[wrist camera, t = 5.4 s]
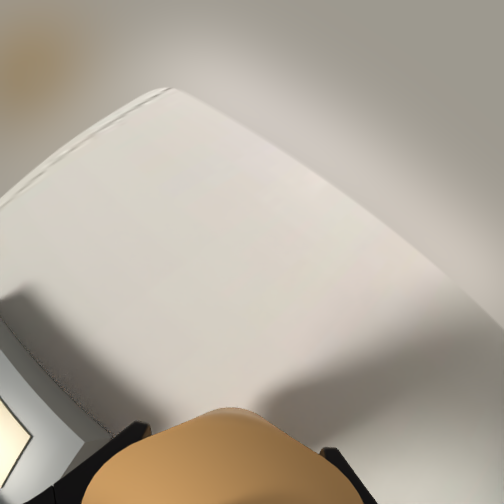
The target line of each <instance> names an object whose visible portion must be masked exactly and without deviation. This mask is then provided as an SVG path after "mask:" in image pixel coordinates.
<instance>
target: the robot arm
mask: <svg viewBox="0 0 504 504" xmlns="http://www.w3.org/2000/svg"><path fill="white" fill-rule="evenodd" d="M150 436H151V428H150V425H149V424H148V423H145V422H141V421H134V422H133V423H132V424H130V425H129V426H128V427H127V428H125V429H124V430H123V431H122V432H121V433H119V434H118V435H117V436H116V437H114V438H113V439H112V440H110V441H109V442H108V443H107V444H105V445H104V446H103V447H102V448H100V449H99V450H98V451H96V452H95V453H94V454H93V455H91V456H90V457H89V458H87V459H86V460H85V461H83V462H82V463H81V464H80V465H78V466H77V467H76V468H74V469H73V470H72V471H70V472H69V473H68V474H66V475H65V476H64V477H62V478H61V479H59V480H58V481H57V482H55V483H54V484H53V485H51V486H50V487H48V488H47V489H46V490H44V491H43V492H41V493H40V494H38V495H37V496H35V497H34V498H32V499H31V500H29V501H27V502H25V503H23V504H82V500H83V497H84V494H85V492H86V489H87V487H88V485H89V484H90V482H91V480H92V479H93V477H94V475H95V474H96V473H97V472H98V471H99V469H100V468H101V467H102V466H103V465H104V464H105V463H106V462H107V461H108V460H110V459H111V458H112V457H113V456H114V455H115V454H117V453H118V452H120V451H122V450H123V449H125V448H126V447H128V446H130V445H131V444H134V443H136V442H138V441H140V440H143V439H145V438H147V437H150ZM319 455H320V456H322V457H324V458H325V459H326V460H328V461H329V462H330V463H331V464H333V465H334V466H335V467H337V468H338V469H339V470H340V471H341V472H342V473H343V474H344V475H345V476H346V477H347V478H348V479H349V481H350V482H351V483H352V485H353V486H354V488H355V489H356V490H357V492H358V493H359V495H360V497H361V499H362V501H363V504H378V503H377V502H376V501H375V499H374V498H373V497H372V495H371V494H370V493H369V491H368V490H367V489H366V487H365V486H364V484H363V483H362V482H361V480H360V479H359V478H358V476H357V475H356V474H355V472H354V471H353V469H352V468H351V467H350V465H349V464H348V463H347V461H346V460H345V458H344V457H343V456H342V454H341V453H340V451H339V450H338V449H337V448H334V447H324V448H322V449H321V451H320V453H319Z"/></svg>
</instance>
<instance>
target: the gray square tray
mask: <svg viewBox="0 0 504 504" xmlns="http://www.w3.org/2000/svg"><path fill="white" fill-rule="evenodd" d="M112 437H113V436H112V435H111V434H110V433H108V432H107V431H106V430H105V429H104V428H103V427H101V426H100V425H99V424H98V423H97V422H96V421H95V420H93V419H92V418H91V417H90V416H89V415H88V414H87V413H86V412H85V411H84V410H83V409H81V408H80V407H79V406H78V405H77V404H76V403H75V402H74V401H73V400H72V399H71V398H70V397H69V396H68V395H67V394H66V393H65V392H64V391H63V390H62V389H61V388H60V387H59V386H58V385H57V384H56V383H55V382H54V381H53V380H52V379H51V377H50V376H49V375H48V374H47V373H46V372H45V371H44V370H43V369H42V368H41V367H40V365H39V364H38V363H37V362H36V361H35V360H34V359H33V357H32V356H31V355H30V354H29V353H28V352H27V350H26V349H25V348H24V347H23V346H22V344H21V343H20V342H19V341H18V339H17V338H16V337H15V336H14V334H13V333H12V332H11V331H10V329H9V328H8V327H7V325H6V324H5V323H4V321H3V320H2V319H1V317H0V504H23V503H25V502H27V501H29V500H31V499H32V498H34V497H35V496H37V495H38V494H40V493H41V492H43V491H44V490H46V489H47V488H48V487H50V486H51V485H53V484H54V483H55V482H57V481H58V480H59V479H61V478H62V477H64V476H65V475H66V474H68V473H69V472H70V471H72V470H73V469H74V468H76V467H77V466H78V465H80V464H81V463H82V462H83V461H85V460H86V459H87V458H89V457H90V456H91V455H93V454H94V453H95V452H96V451H98V450H99V449H100V448H102V447H103V446H104V445H105V444H107V443H108V442H109V441H110V439H111V438H112Z"/></svg>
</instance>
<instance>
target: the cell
mask: <svg viewBox="0 0 504 504" xmlns="http://www.w3.org/2000/svg"><path fill="white" fill-rule="evenodd" d="M82 504H363V501H362V499H361V497H360V495H359V493H358V492H357V490H356V489H355V488H354V486H353V485H352V483H351V482H350V481H349V479H348V478H347V477H346V476H345V475H344V474H343V473H342V472H341V471H340V470H339V469H338V468H337V467H335V466H334V465H333V464H331V463H330V462H329V461H328V460H326V459H325V458H324V457H322V456H320V455H319V454H317V453H316V452H314V451H312V450H311V449H309V448H308V447H306V446H304V445H303V444H301V443H300V442H298V441H297V440H295V439H293V438H292V437H290V436H289V435H287V434H286V433H284V432H283V431H281V430H280V429H278V428H277V427H275V426H274V425H273V424H271V423H270V422H268V421H267V420H265V419H264V418H262V417H261V416H259V415H258V414H256V413H254V412H251V411H249V410H245V409H241V408H220V409H216V410H212V411H210V412H207V413H205V414H203V415H201V416H198V417H196V418H194V419H191V420H189V421H187V422H184V423H182V424H180V425H177V426H175V427H172V428H170V429H167V430H165V431H162V432H160V433H157V434H155V435H152V436H150V437H147V438H145V439H143V440H140V441H138V442H136V443H134V444H131V445H130V446H128V447H126V448H125V449H123V450H122V451H120V452H118V453H117V454H115V455H114V456H113V457H112V458H111V459H110V460H108V461H107V462H106V463H105V464H104V465H103V466H102V467H101V468H100V469H99V471H98V472H97V473H96V474H95V475H94V477H93V479H92V480H91V482H90V484H89V485H88V487H87V489H86V492H85V494H84V497H83V500H82Z"/></svg>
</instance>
